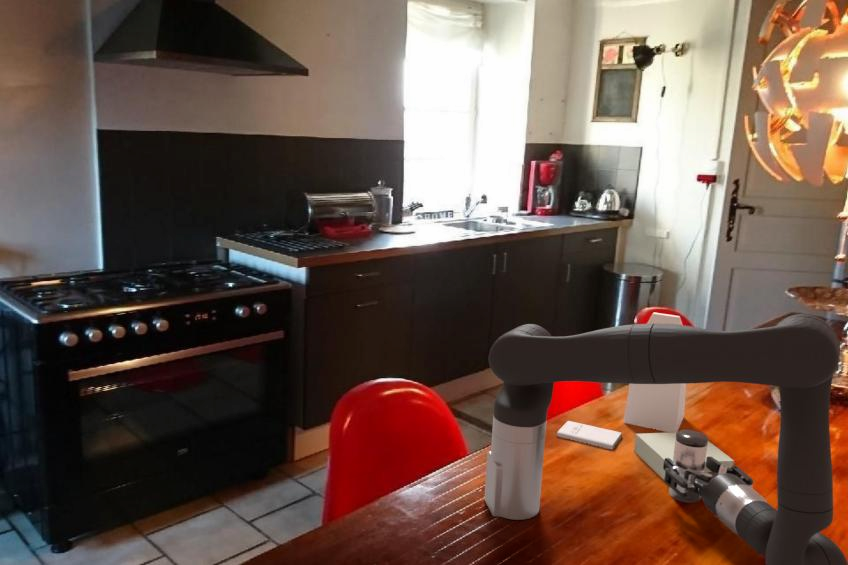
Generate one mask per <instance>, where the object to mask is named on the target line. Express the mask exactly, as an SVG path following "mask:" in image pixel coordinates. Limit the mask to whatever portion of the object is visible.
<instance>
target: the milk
mask: <svg viewBox="0 0 848 565" xmlns="http://www.w3.org/2000/svg"><path fill="white" fill-rule="evenodd" d="M646 324H677V325H683V322H682V319H681V316H680V315H675V314H674V315H673V314H667V313H661V312H660V313H659V312H656V311H655V312H653V313H652V314H651V315H650V317H649V319H648V321H647V322H646ZM628 384H629V383H628ZM686 391H687V383H685V384H629V386H628V392H627V397H626V404H625V410H624V416H623V424H627V425H632V426H633V425H634V426H638V427H643V428H647V429H651V428H652V429H653V430H655V429H656V431H661V432H663V433H671V432H677V431H679V430H680V427H681V424H682V423H683V419H684V418H685V407H686V405H685V404H686V393H687V392H686Z"/></svg>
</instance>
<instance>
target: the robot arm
mask: <svg viewBox="0 0 848 565" xmlns="http://www.w3.org/2000/svg"><path fill="white" fill-rule="evenodd" d="M840 356H841V343H840V340H839V336H838V335H837V333H836V331H835V329H834V328H833V327H832V326H831V325H830V324H829V323H828V322H826V321H825V320H823V319H822V318H820V317H818V316H815V315H812V314H806V313H799V314H798V313H797V314H794V315H790V316H788V317H786V318H783V319H782V320H780V321H779V322H778V323H776V324H775V325H774V326H769V327H761V328H753V329H750V328H749V329H742V330H740V329H739V330H716V329H715V330H714V329H707V328H701V327H695V326H691V325H685V324H684V325H677V324H647V323H636V324H635V323H634V324H625V325H617V326H612V327H606V328H601V329H597V330H593V331H588V332H583V333H579V334H574V335H567V336H552V334H551V333H550V332H549V331H548V330H547V329H545V328H544V327H542V326H540V325H538V324H535V323H527V324H522V325H519V326H517V327H515V328H513V329H511V330H509V331H507V332H504V334H502V335H501V336H499V337H498V338H497V339H496V340H495V341H494V342H493V344H492V346H491V347H490V350H489V353H488V360H487V361H488V364H489V368H490V369H491V371H492V372H493V374H494V376H496V378H498V379H499V380H501V381H502V385H501V387H500V390H499V392H498V393H497V396H496V397H495V399H494V402H493V412H492V413H493V415H492V429H491V431H492V432H491V446H490V448H491V449H490V451H489V450H488V451H487V454H486V469H485V483H484V484H485V485H484V498H483V499H484V501H485V504H486V505H487V507H488V510H489V511H490V514H491V516H492V517H500V518H504V519H508V520H516V521H519V520H528V519H531V518H533V517H535V516H537V515H538V513H539V511H540V504H541V492H542V480H543V469H544V468H543V467H544V455H545V445H546V444H545V443H546V432H547V421H548V420H547V418H548V410H549V408H550V405H551V403H552V399H553V394H554V385H555V383H562V382H580V383H581V382H583V383H599V384H601V383H604V384H685V383H686V384H706V383H707V384H708V383H722V382H723V383H725V382H726V383H727V382H728V383H729V382H730V383H743V384H753V385H765V386H771V387H772V386H773V387H778V388H779V398H780V399H779V401H780V403H779V404H780V422H779V423H780V424H779V425H780V426H779V434H778V435H779V437H778V438H779V439H778V449H777V461H776V464H777V465H776V487H777V488H776V491H777V492H776V494H777V508H775V507H773V505H771V504H770V503H769V502H768V501H767V500H766V499H765V497H764V496H762V495H761V494H759V492H757V491H756V490H755V489H754V488H753V485H754V479H753V478H752V477H751V476H750V475H748V474H747V473H746V472H745V471H744V470H742V468H740V467H739V466H738V465H733V466H732V468H729V467H728V466H727V465H725V464H721V463H720V462H718V461H717V460H716V459H714V458H713V457H711V456H710V457H707V459H706V467H707V468H708V469H709V470H710V471H712V472H707V473H705V472H704V473H703V472H699V471H696V470H693V469H690V468H688V469H687V470H686V469H683V468H680V467H679V466H678V465H677V464H675V463H674V462H673V461H672V460H671V459H670V458H665V461H664V464H663V469H664V470H665V479H664V480H663V483H665V484H666V485H667V486H668V487H669V489H670V488H672V489H673V490H674V491H675V492H676V493H677V494H678V495H680V496H681V497H686V495H687V492H694V493H695V494H697V495H699V496H701V499H702V502H703V503H704V505H705V508H707V509H708V511H710V512H711V514H713V515H714V516H715V517H716V518H717V519H718V520H719V521H721V523H722V524H723V525H724V526H726V527H727V528H728V530H730V531H731V532H733V534H736V535H737V536H738V537H740V538H741V539H742V540H743V541H744V542H746V544H747V545H748V546H749V547H751V549H753V551H755V552H757V553H758V554H759V555H761V556H764V557H765V565H848V561H847V558H846V556H845V554H844V552H843V551H842V550H841V548H840V547H839V546H838V545H837V544H836V543H835V541H833V540H832V539H830V538H829V537H828V536H826V534H823V533H821V531H824V530H827V529H828V527H830V526H831V525H832V523H833V520H834V488H833V487H834V483H833V482H834V480H833V464H832V451H831V448H832V447H831V437H830V436H831V433H830V432H831V431H830V402H831V401H830V399H831V391H832V390H831V389H832V384H833V377H834V374H835V373H836V371H837V368H838V365H839V362H840ZM680 473H681V474H684V479H683V478H682V477H680V476H679V474H680ZM691 475H694V476H695V477H694V481H693V485H692V484H691V483H690V479H691Z"/></svg>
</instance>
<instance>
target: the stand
mask: <svg viewBox="0 0 848 565" xmlns="http://www.w3.org/2000/svg"><path fill="white" fill-rule="evenodd" d="M675 439H676V432H671V433H669V432H652V433H651V432H650V433H649V432H647V433H644V432H643V433H635V437H634V446H633V448H634V449H633V452H634V453H635V454H636V455H638V456H637V457H639V458H640V459H641V460H642V461H643V462H645V464H646V465H648V466H649V468H651V469H652V471H654V473H656V474H657V475H658V476H659V477H660V478H661V479H662V480H663V481H664V479H665V470H664V469H663V464H664V461H665V458H670V459H671V460H672V461H673V456H674V448H675ZM710 456H711V457H713V458H714V459H716V460H717V461H718V462H720V463H721V464H725V465H727V466H728V467H729V468H732V466H735V465H734V464H735V460H734V459H732V458H731V457H730V456H729V455H727V454H726V453H724V452H723V451H722V450H721V449H719V447H717V446H716V445H714V444H713V443H712V442H710V441H709V440H708V445H707V452H706V459H707V457H710ZM704 472H705V473H707V472H712V471H710V470H709V469H708V468H707V467H706V460H705V467H704Z"/></svg>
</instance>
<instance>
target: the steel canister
mask: <svg viewBox="0 0 848 565" xmlns="http://www.w3.org/2000/svg"><path fill="white" fill-rule="evenodd" d="M708 441H709V437H708V436H707V435H706V434H704V433H702V432H700V431H696V430H691V429H681V430H680V429H678V431H677V432H676V439H675V448H674V456H673V462H674V463H675V464H677V465H678V466H679V467H680V468H683V469H686V470H687V469H688V468H690V469H693V470H696V471H699V472H703V473H704V467H705V460H706V452H707V445H708ZM679 476H680V477H682V478H683V479H684V474H681V473H680V474H679ZM694 477H695V476H694V475H691V479H690V483H691V484H692V485H693V481H694ZM668 493H669V495H670V496H671V498H673V499H675V500H677V501H680V502H683V503H687V504H691V503H692V504H694V503H699V501H701V499H702V497H701V496H699V495H697V494H695V493H694V492H687V495H686V497H681V496H680V495H678V494H677V493H676V492H675V491H674V490H673V489H672V488H670V487H669V490H668Z"/></svg>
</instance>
